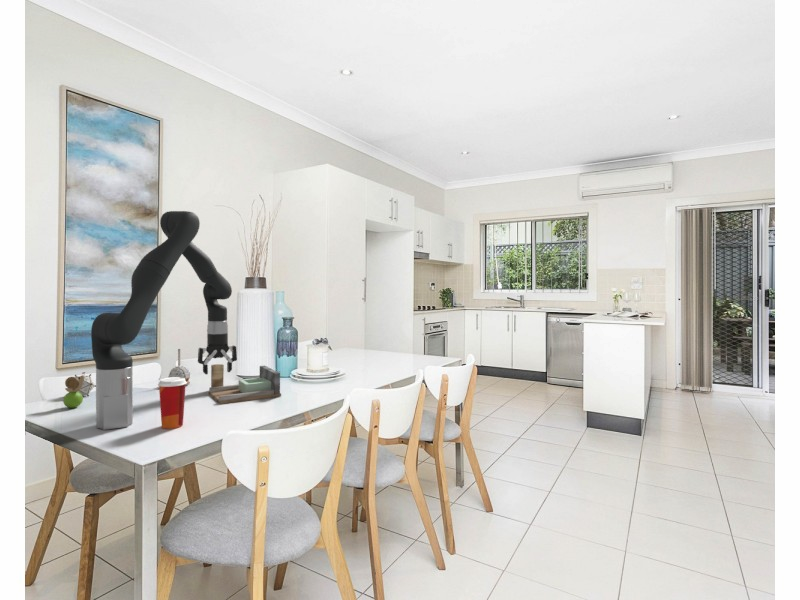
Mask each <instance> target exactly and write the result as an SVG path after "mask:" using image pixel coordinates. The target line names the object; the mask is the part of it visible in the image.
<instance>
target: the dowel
mask: <svg viewBox="0 0 800 600" xmlns="http://www.w3.org/2000/svg"><path fill="white" fill-rule="evenodd" d="M210 368H211V369H210V371H211V372H210V375H211V376H210V387H219V386H224V374H225V373H224V371H225V370H224V364H223V363H221V364H220V363H218V364H217V363H216V364H211V367H210Z"/></svg>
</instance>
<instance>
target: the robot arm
mask: <svg viewBox="0 0 800 600" xmlns="http://www.w3.org/2000/svg"><path fill="white" fill-rule="evenodd" d="M159 222H160V223H159V224H160V225H159V226H160V228H161V231H162V232H163V234H164V235H165V236H166V240H165V241H163V242H162V243H160V244H159V245H157V246H156V247H155V248H153V249H151V250H150V251H149V252H147V253H146V254H145V255H144V256H143V257H142V259H141V260H140V261H139V263H138V264H137V266H136V268H135V269H134V271H133V272H132V276H131V285H130V286H131V295H130V297H129V300H128V301H127V303H126V304H125V306H124V308H122V310H121V311H120V312H103V313H101V314H98V315H97V316H96V317H95V318H94V320H93V322H92V325H91V329H90V331H91V332H90V335H91V336H90V337H91V353H92V354H91V355H92V359H93V361H94V362H95V385H96V387H95V413H96V414H95V416H96V417H95V421H96V422H95V427H96V428H97V429H101V430H102V431H107V430H112V429H113V430H114V429H121V428H127V427H128V428H129V426H130V425H131V424H133V418H134V413H133V412H134V411H133V407H134V406H133V405H134V404H133V403H134V402H133V401H134V400H133V397H134V396H133V392H134V391H133V390H134V389H133V374H134V373H133V357H132V356H131V355H130V354H129V353H127V352H126V351H125V350H124V349H123V347H122V346H124V345H128V344H130V343H132V342H133V341H135V339H136V338H137V336H138V335H139V333H140V332H141V329H142V327H143V324H144V322H145V320H146V317H147V316H148V313H149V312H150V309H151V308H152V305H153V304H154V302H155V300H156V298H157V297H158V295H159V292H160V291H161V289H162V288H163V286H164V285H165V283H166V282H167V280H168V278H169V276H170V275H171V273H172V271H173V269H174V267H175V266H176V264H177V263H178V261H179V260H180V258H181V256H183V257H184V258H185V259H186V260H187V262H188V263H189V265H190V266H191V267H192V269H193V270H194V272H195V274H196V276H197V277H198V278H199V280H200V282H202V283H203V289H202V295H203V298H204V301H205V306H206V308H207V309H206V310H207V325H206V326H207V327H206V329H207V330H206V332H207V333H206V335H207V336H206V339H207V340H206V347H204V348H203V347H198V348H197V349H198V351H197V352H198V353H197V363H198V364H200V365H202V372H203V374H204V375H208V374H209V373H208V372H209V368H208V367H209V365H208V364H209V362H210V361H211V360H212V359H218V358H220V359H221V358H222V359H223V358H225V360H226V361H227V363H226V365H227V366H226V371H227V373H231V371H232V370H233V362H236V361H237V360H238V354H237V353H238V352H237V346H236V345H232V346H229V335H228V333H229V331H228V330H229V328H228V327H229V325H228V308H227V307H226V306H225V305H222V304H220V303H219V302H218V300H227V299H229V298H230V297H231V296H232V293H233V289H232V286H231V284H230V282H229V280H227V279H226V278H225V277H224V276H223V275H222V274H221V273H220V272H219V270H217V268H216V266H215V264H214V263H213V261H212V259H211V258H210V257H209V256H208V254H206V253H205V252H204V251H203V250H202V249H200V248H199V247H198V246H197V245H196V244H195V243H193V240H194V239H195V238H196V236H197V234H198V233H199V229H200V224H201V222H200V218H199V216H198V215H197V214H196V213H194V212H192V211H188V210H187V211H186V210H171V211H166V212H164V213H163V214H162V215H161V217H160V220H159ZM229 351H230V352H231V357H230V356H229V354H227V353H228V352H229ZM205 353H207V355H206V356H205V358H204V359H203V357H204V355H205Z"/></svg>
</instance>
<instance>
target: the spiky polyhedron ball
mask: <svg viewBox="0 0 800 600" xmlns="http://www.w3.org/2000/svg"><path fill="white" fill-rule="evenodd" d="M80 376H81V375H77V374H75V375H74V377H76V378H77V379H78V380H79V382H80ZM84 376H85V379H84V383H83V386H82V388H81V389H80V390H79V391H77V392H79V393H81V394H82V396H87V397H88V396H90V395H89V393H90V392H91V391H92V390H93V389H94V388H96V384H94V382H93V379H92V377H91V376H92V373H90V374H89V375H84Z"/></svg>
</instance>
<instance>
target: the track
mask: <svg viewBox="0 0 800 600" xmlns="http://www.w3.org/2000/svg"><path fill="white" fill-rule="evenodd" d="M262 377H263V378H265V379H267V380H269V381H270V382H271V390H264V391H256V392H248V393H242V392H240V391H239V383H238V384H230V385H223V386H219V387H211V386H209V389H208V395H210V397H212V398H213V399H214V400H215V401H216V402H217V403H218V404H220V405H223V404H224V405H225V404H227V405H228V404H234V403H242V402H248V401H256V400H257V399H258V400H265V398H266V399H271V398H272V397H273V398H280V397H279V396H281V397H282V393H281V372H279V371H277V370H275V369H272V368H270V367H269V366H266V365H260V366H259V378H262Z"/></svg>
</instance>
